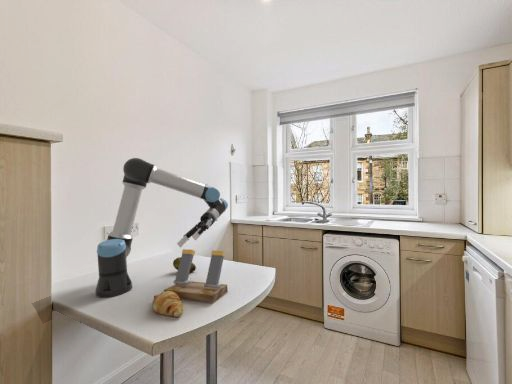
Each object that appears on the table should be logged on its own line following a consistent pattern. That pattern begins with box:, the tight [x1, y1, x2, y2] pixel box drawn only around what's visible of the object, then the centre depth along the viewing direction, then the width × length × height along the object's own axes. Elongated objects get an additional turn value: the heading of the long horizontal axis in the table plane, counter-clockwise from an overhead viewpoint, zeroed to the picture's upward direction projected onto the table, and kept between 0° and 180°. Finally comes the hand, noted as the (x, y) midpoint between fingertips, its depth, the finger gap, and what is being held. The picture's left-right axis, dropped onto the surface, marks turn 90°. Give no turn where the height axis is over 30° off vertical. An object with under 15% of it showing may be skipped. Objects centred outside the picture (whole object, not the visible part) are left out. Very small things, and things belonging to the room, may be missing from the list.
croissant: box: [152, 291, 184, 318], centre depth 100 cm, size 21×10×8 cm, turn 44°
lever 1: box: [173, 248, 196, 285], centre depth 119 cm, size 2×6×15 cm, turn 66°
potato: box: [172, 256, 197, 274], centre depth 146 cm, size 8×13×8 cm, turn 53°
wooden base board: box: [163, 280, 228, 304], centre depth 113 cm, size 12×24×3 cm, turn 68°
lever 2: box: [204, 250, 226, 288], centre depth 113 cm, size 2×6×15 cm, turn 66°
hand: (186, 241), depth 129 cm, fingers open, 13 cm apart
